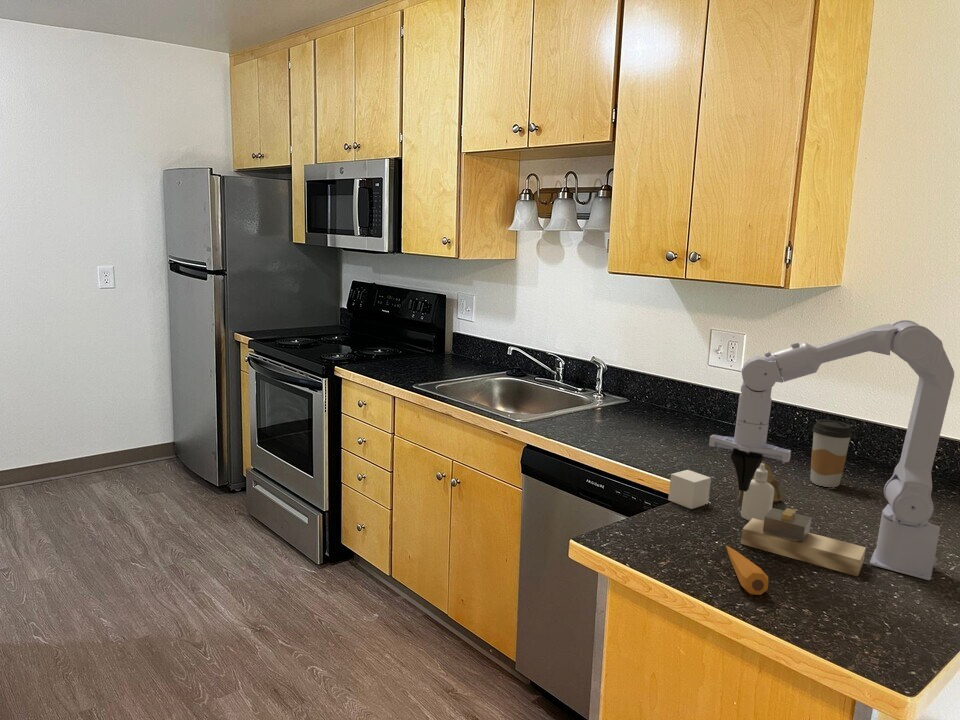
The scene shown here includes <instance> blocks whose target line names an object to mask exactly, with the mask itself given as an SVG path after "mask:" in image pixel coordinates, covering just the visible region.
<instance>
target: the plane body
mask: <svg viewBox="0 0 960 720" xmlns="http://www.w3.org/2000/svg"><path fill="white" fill-rule="evenodd" d="M763 526H764V521H762V520H758V519H755V518H752V519H751V520H750V521H748V522H747V523H746V524H745V525H744V527H743V528H742V532H741V538H740V544H741V545H744V546H748V547H751V548H755V549H759V550H762V551H766V552H769V553H773V554H776V555H779V556H784V557H787V558H791V559H795V560H797V561H800V562H804V563H805V562H806V563H807V564H808V563H809V564H811V565H814V566H820V567H822V568H826V569H829V570H833V571H837V572H839V573H840V572H841V573H845V574H847V575H851V576H855V577H859V575H860V573H861V570H862V567H863V565H864V562H865V555H866V550H867V549H866V548H867V547H865V546H862V545H858V544H854V543H851V542H847V541H843V540H839V539H835V538H831V537H829V536H823V535H819V534H815V533H813V532H812V533H811V532H809V533H808V535H807V536H806V538H805V539H804V541H803V542H802V541H798V540H795V539H791V538H787V537H783V536H780V535H776V534H772V533H768V532H765V531H763Z"/></svg>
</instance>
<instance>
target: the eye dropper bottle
mask: <svg viewBox="0 0 960 720" xmlns="http://www.w3.org/2000/svg"><path fill="white" fill-rule="evenodd" d="M767 476H768V471H767V470H765V465H764V464H761V465H760V467H759V469H757V470H756V472H755V477H754V479H752V480H751V483H750V486H749V489H748V490H747V491H746V492H745V491H744V495H743V503H742V505H741V512H740V516H741V518H742V519H745V520H747V521H748V522H749V521H750V520H751V519H752V518H755V519H758V520H762V521H764V518H765V516H766V515H767V514H768V512H769V511H770V510H771V509H772V508H773V503H774V502H773V497H774V487H773V486H772V485H771V484H769V483H768V482H766V481H767Z"/></svg>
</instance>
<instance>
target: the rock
mask: <svg viewBox="0 0 960 720" xmlns="http://www.w3.org/2000/svg"><path fill="white" fill-rule="evenodd" d="M761 464H764V465H765V470H767V471H768V476H767V481H766V482H768V483H769V484H771V485H772V486H773V487H774V497H773V503H774V502H781V501H782V500H783V498H782V493H781V490H780V485H779V482H778V481H777V479H776V478H775V476H774V475H773V472H772V470H771V466H770V465H769V464H767V463H765V462H764V461H762V462H761V463H760V465H761ZM760 465H759V467H760ZM759 467H758V468H757V469H759ZM754 477H755V474H754V476H753V478H752V479H754ZM743 495H744V491H741V490H739V493H738V503H739V504H740V505H741V506H742V503H743Z"/></svg>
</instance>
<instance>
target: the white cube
mask: <svg viewBox="0 0 960 720" xmlns="http://www.w3.org/2000/svg"><path fill="white" fill-rule="evenodd" d="M669 480H670V481H669V490H668V498H667V500H668V501H670V502H672V503H675V504H678V505H680V506H682V507H685V508H687V509H690V510H692V509H696V508H699V507H702V506H705V504H706V505H708V504H709V498H710V492H711V491H710V490H711V482H712V477H710V476H708V475H704V474H702V473H699V472H696V471H692V470H690V469H686V470H685V469H684V470H682V471H677V472H674V473H671V474H670V479H669Z"/></svg>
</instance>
